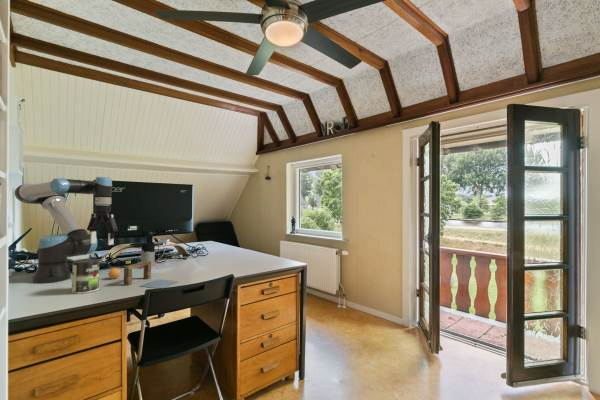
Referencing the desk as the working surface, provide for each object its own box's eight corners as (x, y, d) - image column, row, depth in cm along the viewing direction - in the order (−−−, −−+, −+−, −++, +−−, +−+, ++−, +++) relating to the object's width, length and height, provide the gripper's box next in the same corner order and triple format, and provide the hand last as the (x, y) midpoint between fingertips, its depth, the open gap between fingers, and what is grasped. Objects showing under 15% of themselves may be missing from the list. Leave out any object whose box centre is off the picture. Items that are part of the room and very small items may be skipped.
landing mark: (139, 286, 141) (139, 285, 141) (158, 279, 154) (158, 279, 154) (160, 288, 137) (160, 288, 137) (178, 281, 150) (178, 281, 150)
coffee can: (104, 288, 137) (105, 259, 137) (84, 294, 127) (85, 263, 127) (86, 286, 139) (87, 257, 139) (65, 292, 129) (66, 261, 129)
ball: (105, 279, 152) (105, 269, 152) (114, 276, 157) (115, 267, 157) (113, 280, 150) (113, 270, 150) (122, 277, 156) (122, 267, 156)
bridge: (123, 284, 143) (123, 266, 143) (146, 277, 157) (146, 261, 157) (128, 285, 142) (128, 267, 142) (150, 278, 156) (151, 261, 156)
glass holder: (140, 266, 184) (141, 243, 185) (164, 264, 190) (165, 242, 191) (139, 269, 176) (139, 245, 177) (164, 267, 182) (165, 244, 183)
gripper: (79, 204, 157) (78, 243, 156) (114, 205, 150) (112, 246, 150) (93, 204, 164) (91, 241, 164) (126, 205, 157) (125, 244, 157)
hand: (101, 244), depth 157 cm, fingers open, 12 cm apart
